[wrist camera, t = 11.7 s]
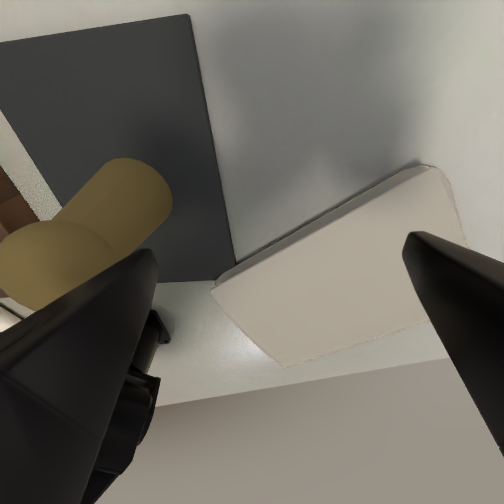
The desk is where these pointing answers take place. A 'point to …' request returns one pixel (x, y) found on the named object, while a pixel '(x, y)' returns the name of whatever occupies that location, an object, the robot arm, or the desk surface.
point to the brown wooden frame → (12, 211)
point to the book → (340, 272)
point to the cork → (85, 233)
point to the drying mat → (125, 126)
